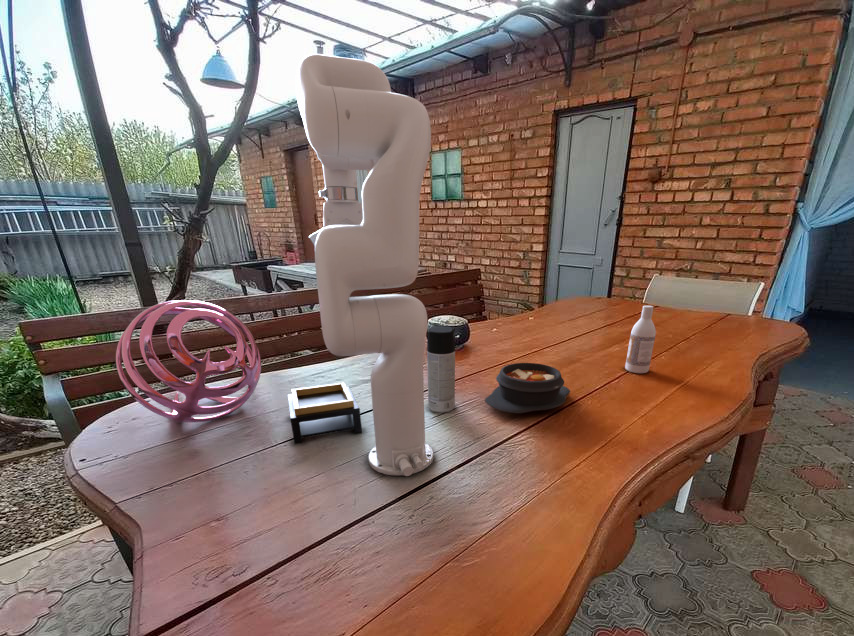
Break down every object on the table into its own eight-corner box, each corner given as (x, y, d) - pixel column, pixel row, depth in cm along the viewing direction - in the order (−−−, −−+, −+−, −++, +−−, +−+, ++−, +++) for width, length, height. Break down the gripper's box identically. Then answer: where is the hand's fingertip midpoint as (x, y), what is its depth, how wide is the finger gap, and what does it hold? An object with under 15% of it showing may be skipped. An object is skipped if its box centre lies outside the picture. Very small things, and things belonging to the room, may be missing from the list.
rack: (362, 432, 93) (359, 401, 90) (294, 444, 88) (289, 411, 85) (350, 408, 105) (348, 380, 102) (291, 417, 100) (286, 388, 97)
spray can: (456, 403, 109) (456, 325, 101) (453, 414, 102) (453, 332, 94) (430, 401, 109) (428, 325, 101) (426, 412, 103) (424, 332, 95)
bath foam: (624, 365, 137) (635, 303, 129) (647, 368, 135) (660, 304, 127) (624, 372, 131) (635, 307, 123) (648, 375, 129) (661, 309, 121)
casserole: (524, 428, 95) (527, 394, 92) (468, 404, 108) (468, 372, 105) (586, 400, 111) (590, 369, 107) (530, 381, 123) (532, 353, 120)
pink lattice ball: (101, 327, 99) (119, 265, 81) (229, 335, 119) (267, 287, 101) (115, 443, 94) (137, 404, 76) (247, 430, 114) (289, 397, 96)
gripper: (305, 194, 96) (315, 273, 102) (381, 196, 102) (385, 270, 109) (302, 196, 102) (312, 270, 109) (374, 198, 108) (378, 267, 115)
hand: (348, 270), depth 109 cm, fingers open, 9 cm apart
